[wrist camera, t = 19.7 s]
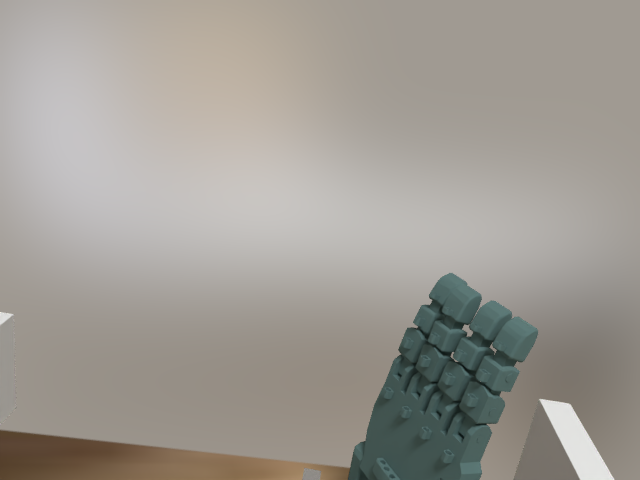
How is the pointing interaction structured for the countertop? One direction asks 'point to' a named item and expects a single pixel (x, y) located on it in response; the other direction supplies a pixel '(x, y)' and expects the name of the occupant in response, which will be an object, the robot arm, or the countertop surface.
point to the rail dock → (311, 474)
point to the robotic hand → (444, 389)
